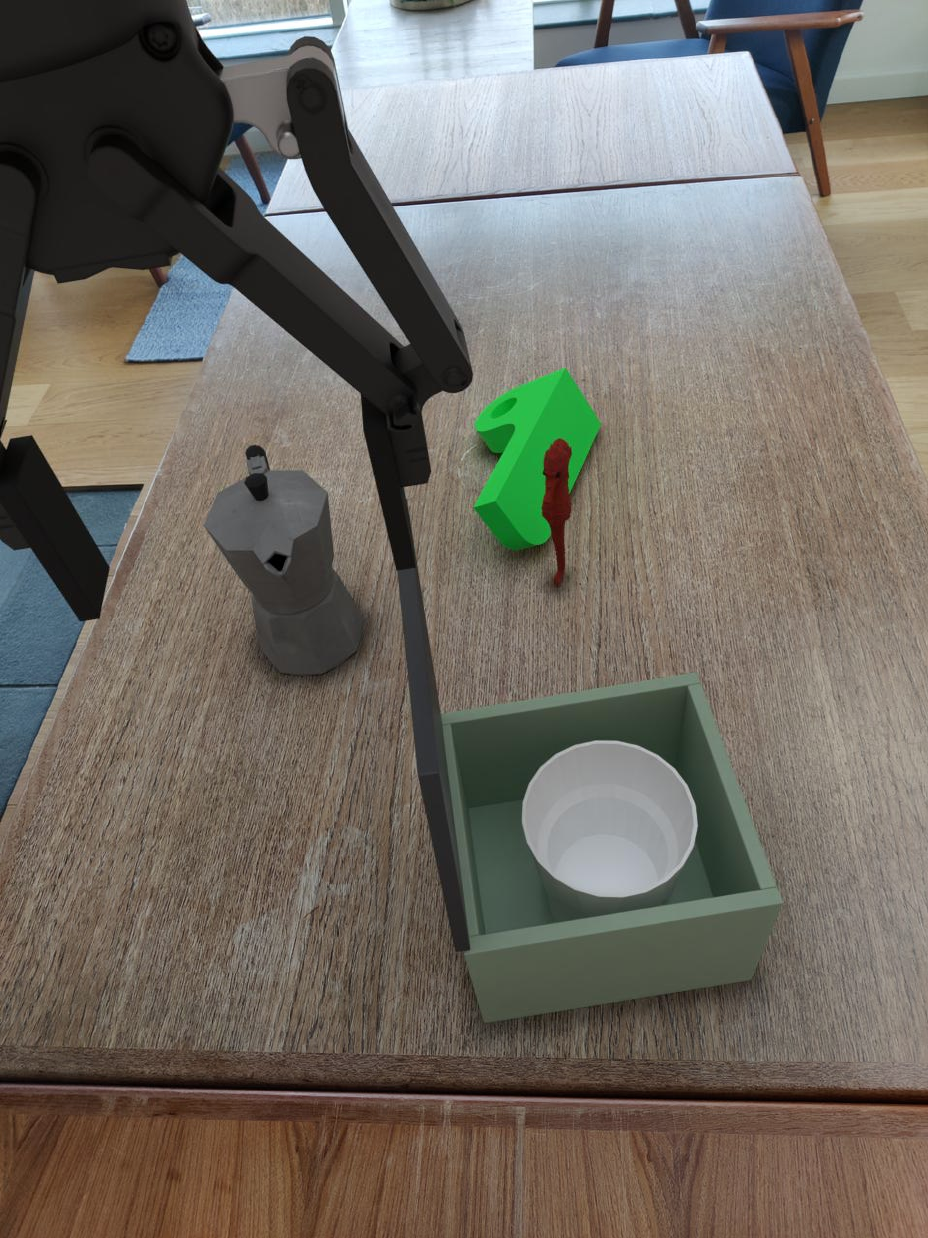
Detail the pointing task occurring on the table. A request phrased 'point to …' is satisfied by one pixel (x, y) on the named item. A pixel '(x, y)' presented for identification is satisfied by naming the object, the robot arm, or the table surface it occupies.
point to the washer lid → (432, 752)
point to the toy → (557, 498)
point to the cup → (608, 829)
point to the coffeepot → (287, 566)
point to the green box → (615, 943)
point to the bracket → (530, 453)
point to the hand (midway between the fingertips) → (249, 569)
